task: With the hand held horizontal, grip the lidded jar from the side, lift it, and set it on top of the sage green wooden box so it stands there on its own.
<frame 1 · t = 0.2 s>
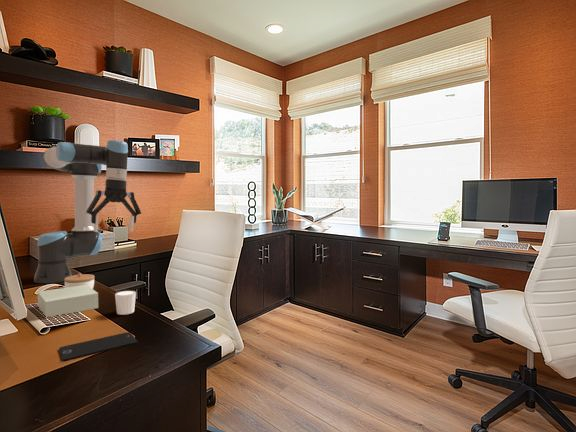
hand: (114, 231, 138), 27 cm above the table, tool pointing down, fingers open, 13 cm apart
sage box: (68, 308, 125), on the table
white tapered cup: (125, 312, 121), on the table
cell phone: (99, 348, 94), on the table
lidded jar: (79, 295, 140), on the table
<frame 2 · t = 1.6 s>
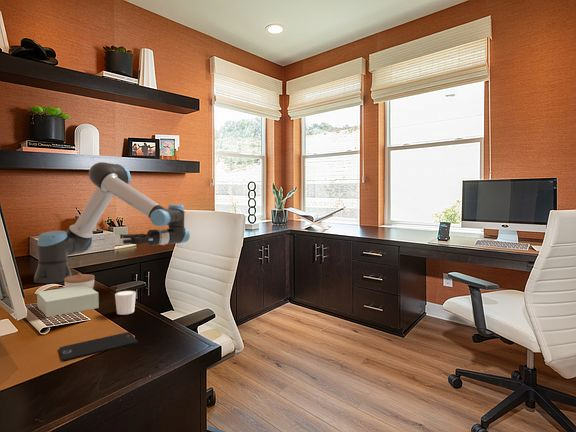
hand: (109, 240, 147), 22 cm above the table, tool horizontal, fingers open, 13 cm apart
nothing on the table moved.
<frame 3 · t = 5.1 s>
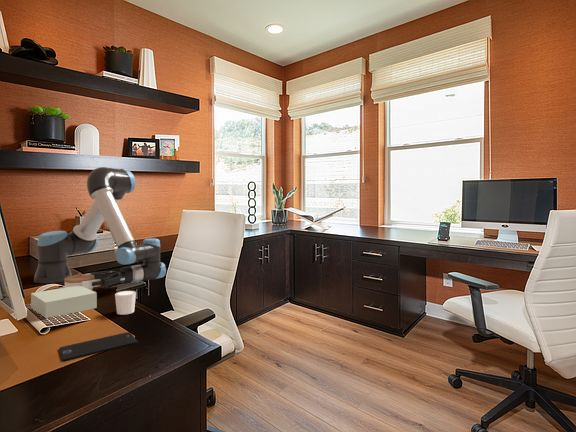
hand: (77, 281, 139), 6 cm above the table, tool horizontal, fingers open, 13 cm apart
sage box: (64, 308, 124), on the table, touching gripper
everything else where it was.
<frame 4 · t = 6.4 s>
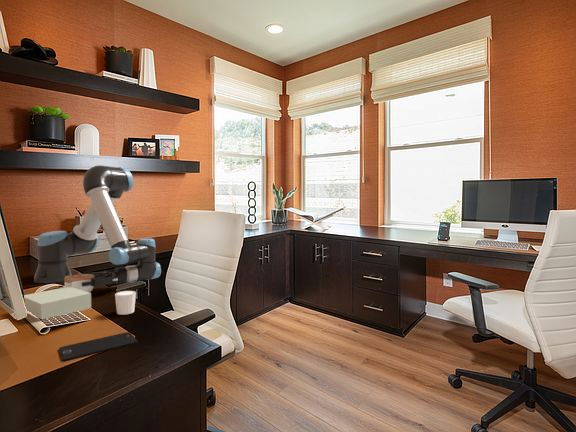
hand: (68, 282, 137), 6 cm above the table, tool horizontal, fingers closed on lidded jar, 11 cm apart
sage box: (56, 310, 122), on the table
lidded jar: (79, 295, 140), on the table, touching gripper
everything else where it was.
when the fingers open (13 cm above the table, at t = 11.0 s): lidded jar drops 2 cm, resting on sage box.
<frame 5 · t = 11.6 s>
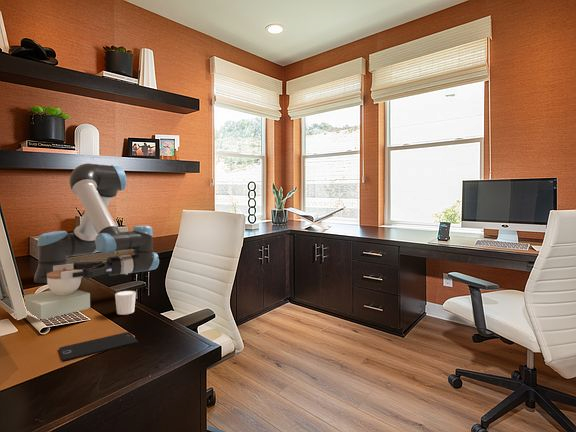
hand: (56, 272, 122), 13 cm above the table, tool horizontal, fingers open, 13 cm apart
sage box: (55, 311, 122), on the table, touching lidded jar
lidded jar: (64, 293, 124), point 5 cm above the table, touching sage box
everything else where it was.
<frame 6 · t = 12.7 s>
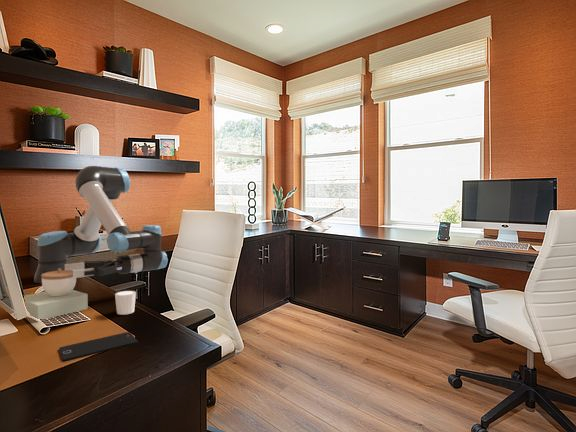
hand: (68, 271, 124), 14 cm above the table, tool horizontal, fingers open, 13 cm apart
lidded jar: (59, 294, 123), point 5 cm above the table, touching sage box
everything else where it was.
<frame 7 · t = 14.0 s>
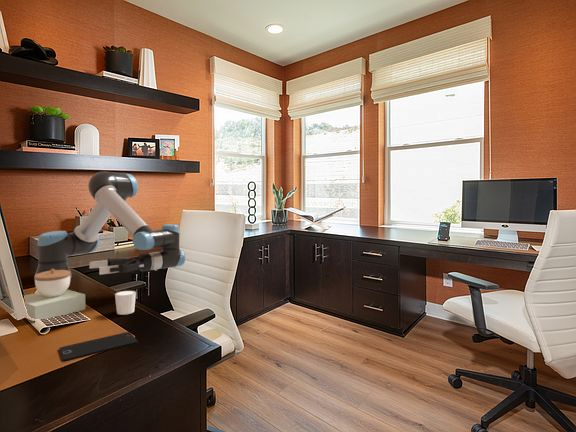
hand: (94, 268, 131), 14 cm above the table, tool horizontal, fingers open, 13 cm apart
lidded jar: (53, 295, 122), point 5 cm above the table, touching sage box
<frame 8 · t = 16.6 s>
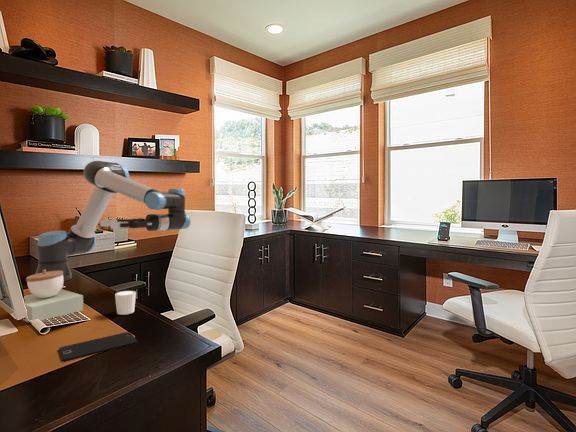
hand: (105, 224, 138), 30 cm above the table, tool horizontal, fingers open, 13 cm apart
sage box: (47, 313, 119), on the table
lidded jar: (48, 296, 120), point 6 cm above the table
everything else where it was.
at the end: lidded jar inside the target area on the sage box (0.5 cm from its centre), point 6.0 cm above the sage box's base; lidded jar tilted 4°; lidded jar touching sage box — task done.
